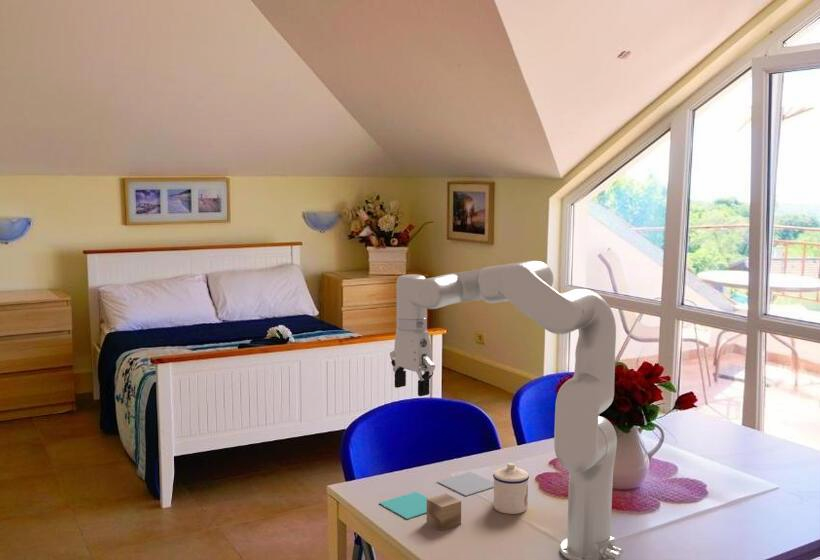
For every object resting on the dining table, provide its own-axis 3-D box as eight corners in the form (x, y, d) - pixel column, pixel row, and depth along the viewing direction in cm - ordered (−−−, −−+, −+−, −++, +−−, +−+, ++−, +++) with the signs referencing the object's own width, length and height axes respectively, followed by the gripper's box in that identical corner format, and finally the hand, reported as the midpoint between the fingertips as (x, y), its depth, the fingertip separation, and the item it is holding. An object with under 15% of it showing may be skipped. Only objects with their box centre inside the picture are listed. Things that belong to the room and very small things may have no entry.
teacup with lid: (533, 513, 210) (534, 469, 208) (498, 516, 208) (499, 471, 207) (518, 494, 222) (518, 452, 220) (485, 497, 220) (485, 455, 218)
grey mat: (499, 485, 228) (499, 484, 228) (465, 496, 221) (465, 495, 221) (470, 472, 237) (470, 471, 237) (437, 482, 230) (437, 481, 230)
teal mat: (444, 507, 214) (444, 506, 214) (407, 519, 206) (407, 518, 206) (415, 492, 223) (415, 491, 223) (379, 503, 216) (379, 502, 216)
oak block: (461, 524, 204) (461, 501, 203) (441, 530, 200) (442, 507, 200) (445, 516, 209) (445, 493, 208) (426, 522, 205) (426, 499, 204)
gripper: (445, 328, 203) (445, 396, 206) (403, 317, 217) (403, 381, 219) (421, 331, 199) (421, 401, 201) (379, 320, 213) (379, 386, 215)
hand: (411, 390), depth 210 cm, fingers open, 9 cm apart
